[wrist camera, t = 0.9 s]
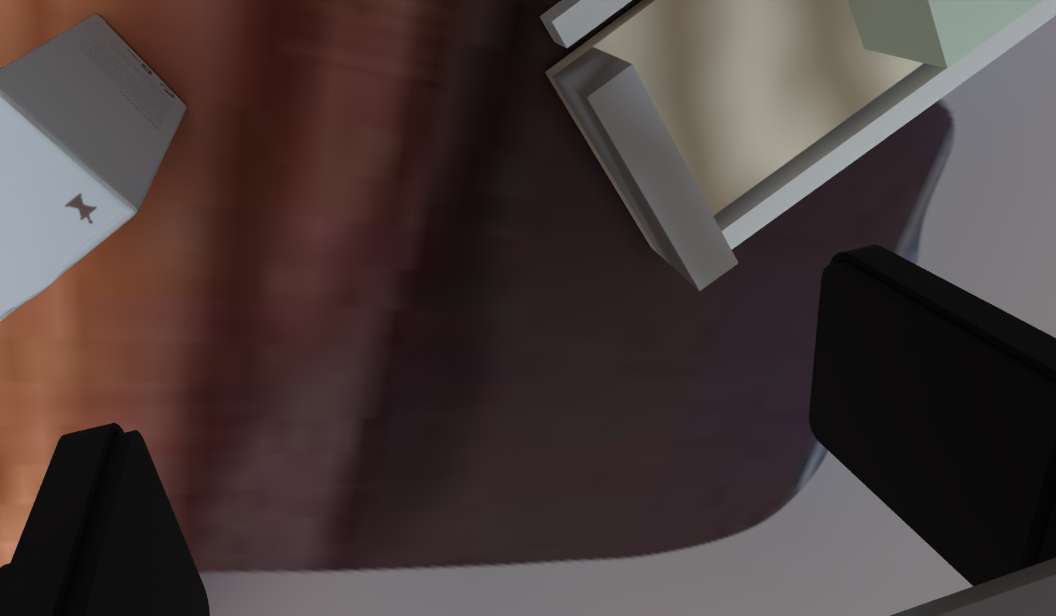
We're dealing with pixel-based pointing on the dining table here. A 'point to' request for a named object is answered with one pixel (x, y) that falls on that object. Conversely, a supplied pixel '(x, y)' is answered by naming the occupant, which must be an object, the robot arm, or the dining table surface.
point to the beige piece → (713, 107)
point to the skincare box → (74, 152)
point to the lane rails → (594, 3)
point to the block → (932, 26)
